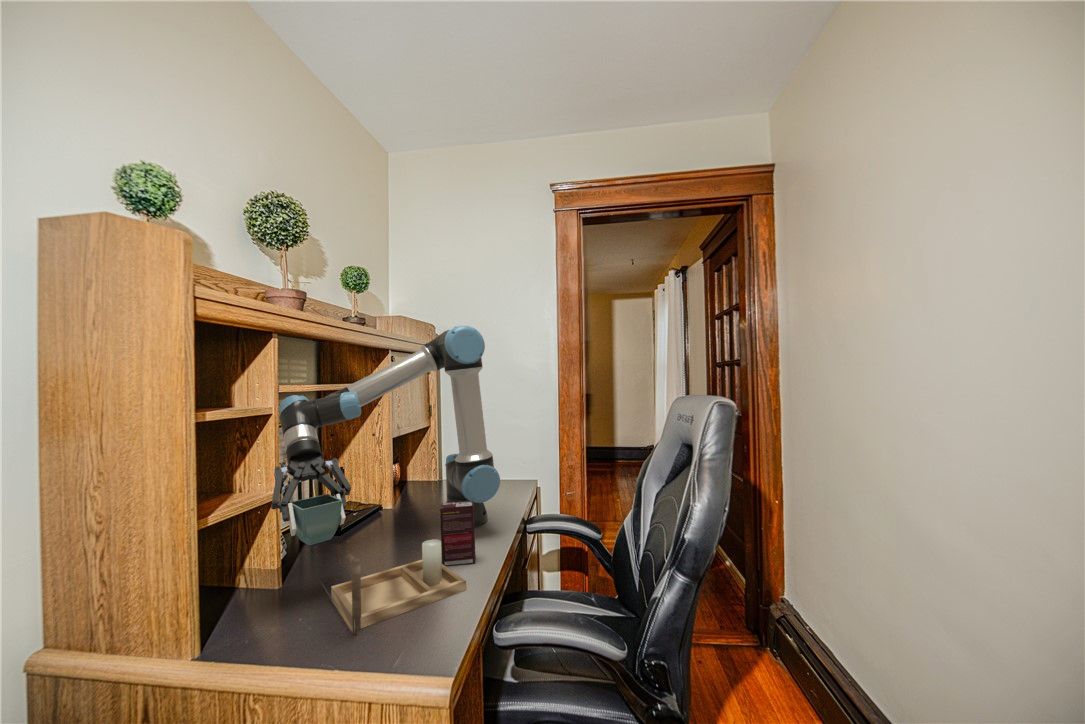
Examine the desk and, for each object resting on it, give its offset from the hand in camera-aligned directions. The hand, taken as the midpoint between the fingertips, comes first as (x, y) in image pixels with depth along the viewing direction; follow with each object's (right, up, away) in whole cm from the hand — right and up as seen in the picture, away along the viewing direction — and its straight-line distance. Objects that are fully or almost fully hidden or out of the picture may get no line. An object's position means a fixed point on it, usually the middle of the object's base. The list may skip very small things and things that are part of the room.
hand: (319, 526), depth 99 cm
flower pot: (-2, -4, +2) cm, 5 cm away
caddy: (+18, -16, +1) cm, 24 cm away
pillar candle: (+24, -15, +6) cm, 29 cm away
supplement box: (+28, -16, +16) cm, 36 cm away
